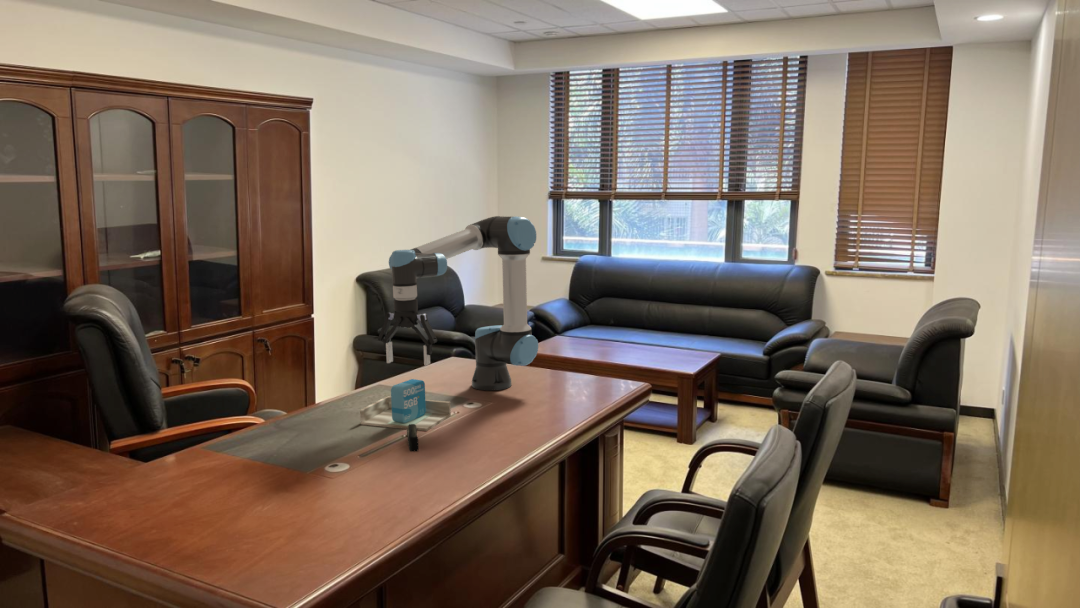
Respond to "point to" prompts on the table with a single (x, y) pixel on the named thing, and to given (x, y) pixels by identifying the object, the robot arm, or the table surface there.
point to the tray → (382, 416)
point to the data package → (408, 400)
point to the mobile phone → (412, 437)
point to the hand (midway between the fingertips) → (408, 363)
